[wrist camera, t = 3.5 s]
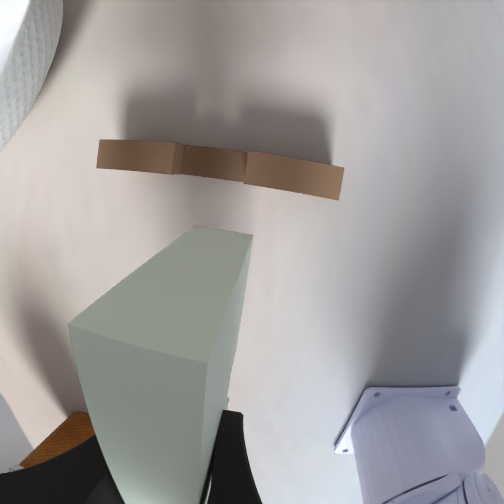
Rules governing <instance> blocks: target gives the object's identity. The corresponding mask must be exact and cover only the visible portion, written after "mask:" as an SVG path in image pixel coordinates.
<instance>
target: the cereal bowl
mask: <svg viewBox="0 0 504 504" xmlns="http://www.w3.org/2000/svg"><path fill="white" fill-rule="evenodd" d="M62 20H63V0H0V151H1V150H2V149H3V148H4V147H5V145H6V144H7V143H8V142H9V141H10V140H11V138H12V137H13V136H14V135H15V133H16V131H17V130H18V128H19V127H20V126H21V124H22V122H23V121H24V119H25V118H26V116H27V114H28V112H29V111H30V110H31V107H32V106H33V104H34V102H35V100H36V99H37V96H38V94H39V92H40V89H41V88H42V85H43V83H44V81H45V78H46V76H47V73H48V71H49V68H50V66H51V63H52V60H53V58H54V54H55V51H56V48H57V45H58V42H59V37H60V33H61V27H62Z"/></svg>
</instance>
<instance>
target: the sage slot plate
mask: <svg viewBox="0 0 504 504" xmlns="http://www.w3.org/2000/svg"><path fill="white" fill-rule="evenodd" d="M252 241H253V235H250V234H244V233H238V232H232V231H225V230H219V229H212V228H206V227H199V226H195V227H193V228H192V229H191V230H189V231H188V232H186V233H185V234H184V235H182V236H181V237H180V238H178V239H177V240H175V241H174V242H173V243H171V244H170V245H168V246H167V247H166V248H164V249H163V250H162V251H160V252H159V253H158V254H156V255H155V256H154V257H152V258H151V259H150V260H148V261H147V262H146V263H144V264H143V265H142V266H140V267H139V268H138V269H136V270H135V271H134V272H132V273H131V274H130V275H128V276H127V277H126V278H124V279H123V280H122V281H121V282H119V283H118V284H117V285H115V286H114V287H113V288H112V289H110V290H109V291H108V292H107V293H105V294H104V295H103V296H101V297H100V298H99V299H98V300H96V301H95V302H94V303H93V304H91V305H90V306H89V307H88V308H87V309H85V310H84V311H83V312H82V313H80V314H79V315H78V316H77V317H76V318H74V319H73V320H72V321H71V322H69V323H68V327H69V333H70V339H71V344H72V349H73V354H74V359H75V364H76V368H77V372H78V376H79V380H80V384H81V388H82V392H83V396H84V399H85V403H86V406H87V409H88V413H89V416H90V419H91V422H92V425H93V428H94V431H95V434H96V437H97V439H98V442H99V445H100V448H101V450H102V453H103V455H104V458H105V460H106V463H107V465H108V468H109V470H110V472H111V475H112V477H113V479H114V481H115V483H116V486H117V488H118V490H119V492H120V494H121V496H122V498H123V500H124V502H125V504H207V501H208V496H209V492H210V487H211V478H212V469H213V460H214V452H215V443H216V435H217V430H218V426H219V422H220V418H221V415H222V411H223V410H227V408H228V401H229V398H228V397H227V394H228V387H229V380H230V374H231V369H232V365H233V361H234V357H235V352H236V347H237V341H238V334H239V327H240V321H241V314H242V307H243V301H244V294H245V287H246V281H247V274H248V267H249V261H250V254H251V247H252Z"/></svg>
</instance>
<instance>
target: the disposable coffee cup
mask: <svg viewBox="0 0 504 504" xmlns="http://www.w3.org/2000/svg"><path fill="white" fill-rule="evenodd" d="M94 434H95V431H94V428H93V425H92V422H91V419H90V416H89V415H87V414H84V413H81V412H75V413H72V414H71V415H70V416H69V417H68V418H67V419H66V420H65V421H64V422H63V423H62V424H61V425H60V426H59V427H58V428H57V429H55V430H54V431H53V432H52V433H51V434H50V435H49V436H48V437H47V438H46V439H45V440H44V441H43V442H42V443H41V444H40V445H39V446H38V447H37V448H36V449H35V450H33V452H31V453H30V454H29V455H28V457H26V458H25V459H24V460H23V461H22V462H21V463H20V464H19V465H15V466H14V467H10V468H9V472H12V471H16V470H19V469H23V468H26V467H30V466H33V465H36V464H39V463H41V462H44V461H46V460H49V459H51V458H53V457H55V456H58V455H60V454H62V453H64V452H66V451H68V450H69V449H71V448H73V447H75V446H77V445H78V444H80V443H82V442H83V441H85V440H86V439H88V438H89V437H91V436H92V435H94Z"/></svg>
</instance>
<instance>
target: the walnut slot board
mask: <svg viewBox="0 0 504 504" xmlns="http://www.w3.org/2000/svg"><path fill="white" fill-rule="evenodd" d="M96 168H102V169H117V170H129V171H141V172H152V173H162V174H185V175H194V176H202V177H210V178H218V179H225V180H232V181H239V182H244V183H243V184H249V185H255V186H262V187H268V188H274V189H280V190H286V191H291V192H297V193H303V194H308V195H313V196H319V197H324V198H329V199H334V200H339V196H340V190H341V184H342V179H343V173H344V168H343V167H338V166H334V165H329V164H324V163H319V162H314V161H309V160H303V159H298V158H292V157H287V156H281V155H274V154H268V153H262V152H255V151H248V152H241V151H234V150H226V149H217V148H208V147H198V146H188V145H182V144H178V143H172V142H157V141H138V140H100V142H99V149H98V158H97V167H96Z"/></svg>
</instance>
